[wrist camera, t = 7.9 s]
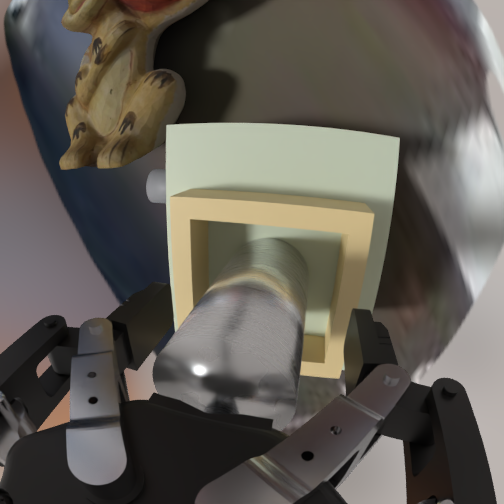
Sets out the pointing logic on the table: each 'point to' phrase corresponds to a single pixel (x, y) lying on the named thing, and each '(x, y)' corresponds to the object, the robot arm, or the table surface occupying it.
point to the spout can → (243, 337)
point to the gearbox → (281, 215)
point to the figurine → (122, 81)
